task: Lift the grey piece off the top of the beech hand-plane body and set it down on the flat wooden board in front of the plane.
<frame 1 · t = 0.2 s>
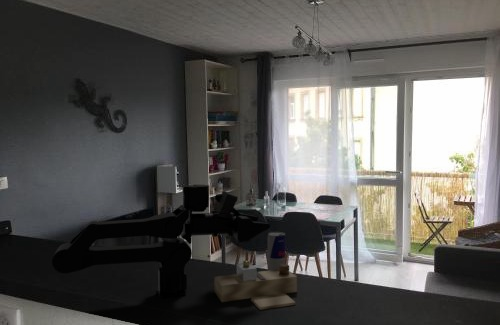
hand: (263, 222, 113), 17 cm above the countertop, tool horizontal, fingers open, 9 cm apart
energy drink: (276, 275, 119), on the countertop
plane body: (255, 291, 106), on the countertop
grey piece: (246, 277, 105), point 4 cm above the countertop, touching plane body
flat wooden board: (272, 302, 99), on the countertop
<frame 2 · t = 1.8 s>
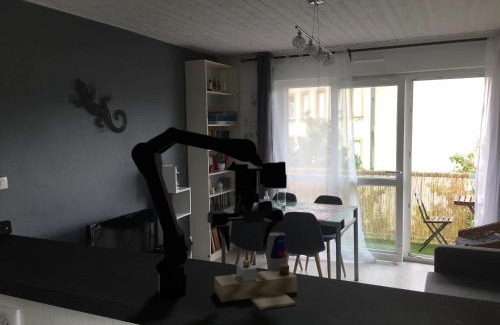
hand: (245, 249, 104), 11 cm above the countertop, tool pointing down, fingers open, 9 cm apart
nothing on the countertop moved.
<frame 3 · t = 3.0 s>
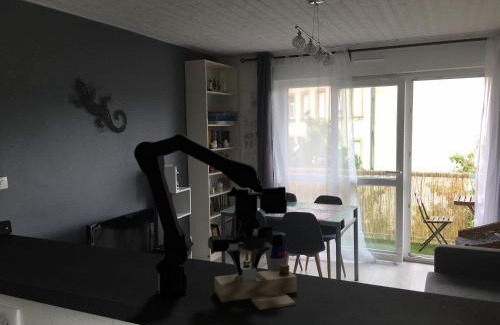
hand: (246, 274, 105), 5 cm above the countertop, tool pointing down, fingers closed on grey piece, 3 cm apart
grey piece: (246, 277, 105), point 4 cm above the countertop, touching gripper, plane body
everything else where it was.
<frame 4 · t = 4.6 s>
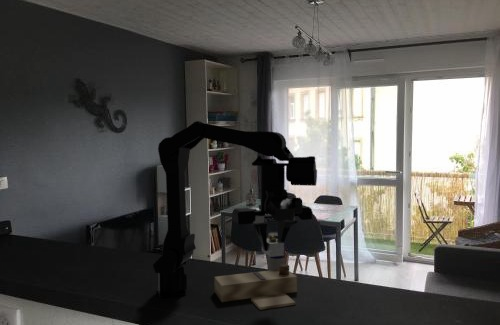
hand: (272, 249, 98), 13 cm above the countertop, tool pointing down, fingers closed on grey piece, 3 cm apart
grey piece: (272, 253, 98), point 12 cm above the countertop, touching gripper
everything else where it was.
when the fingers open (3 cm above the countertop, at t = 6.5 s): grey piece drops 2 cm, resting on flat wooden board.
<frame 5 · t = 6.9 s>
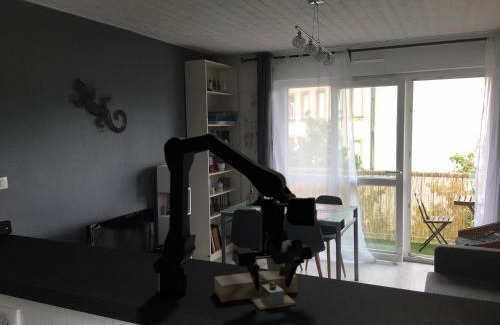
hand: (272, 289, 98), 3 cm above the countertop, tool pointing down, fingers open, 7 cm apart
grey piece: (272, 300, 99), point 1 cm above the countertop, touching flat wooden board
everything else where it was.
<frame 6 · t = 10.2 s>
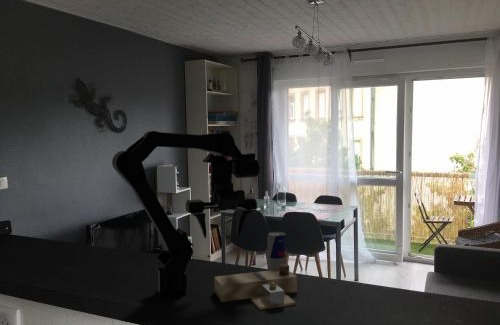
hand: (221, 236, 111), 13 cm above the countertop, tool pointing down, fingers open, 9 cm apart
nothing on the countertop moved.
at the end: grey piece inside the target area on the flat wooden board (0.0 cm from its centre), point 0.6 cm above the flat wooden board's base; grey piece touching flat wooden board; the gripper is holding nothing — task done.
